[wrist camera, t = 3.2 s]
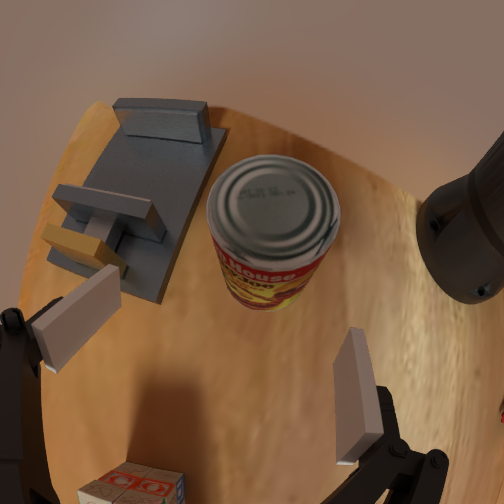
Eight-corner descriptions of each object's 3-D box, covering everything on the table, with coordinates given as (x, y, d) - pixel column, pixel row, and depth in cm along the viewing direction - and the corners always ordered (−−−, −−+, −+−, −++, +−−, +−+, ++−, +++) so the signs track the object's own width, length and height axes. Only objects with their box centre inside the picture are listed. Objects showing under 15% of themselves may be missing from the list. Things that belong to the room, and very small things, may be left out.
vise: (160, 304, 26) (135, 286, 20) (53, 264, 28) (20, 242, 22) (226, 137, 34) (223, 98, 28) (128, 126, 35) (114, 93, 29)
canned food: (207, 270, 27) (178, 205, 16) (265, 219, 30) (271, 136, 18) (265, 329, 25) (276, 301, 14) (322, 271, 27) (365, 208, 16)
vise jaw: (143, 285, 25) (118, 264, 20) (56, 254, 26) (26, 231, 21) (168, 224, 27) (150, 191, 22) (80, 203, 28) (56, 175, 23)
